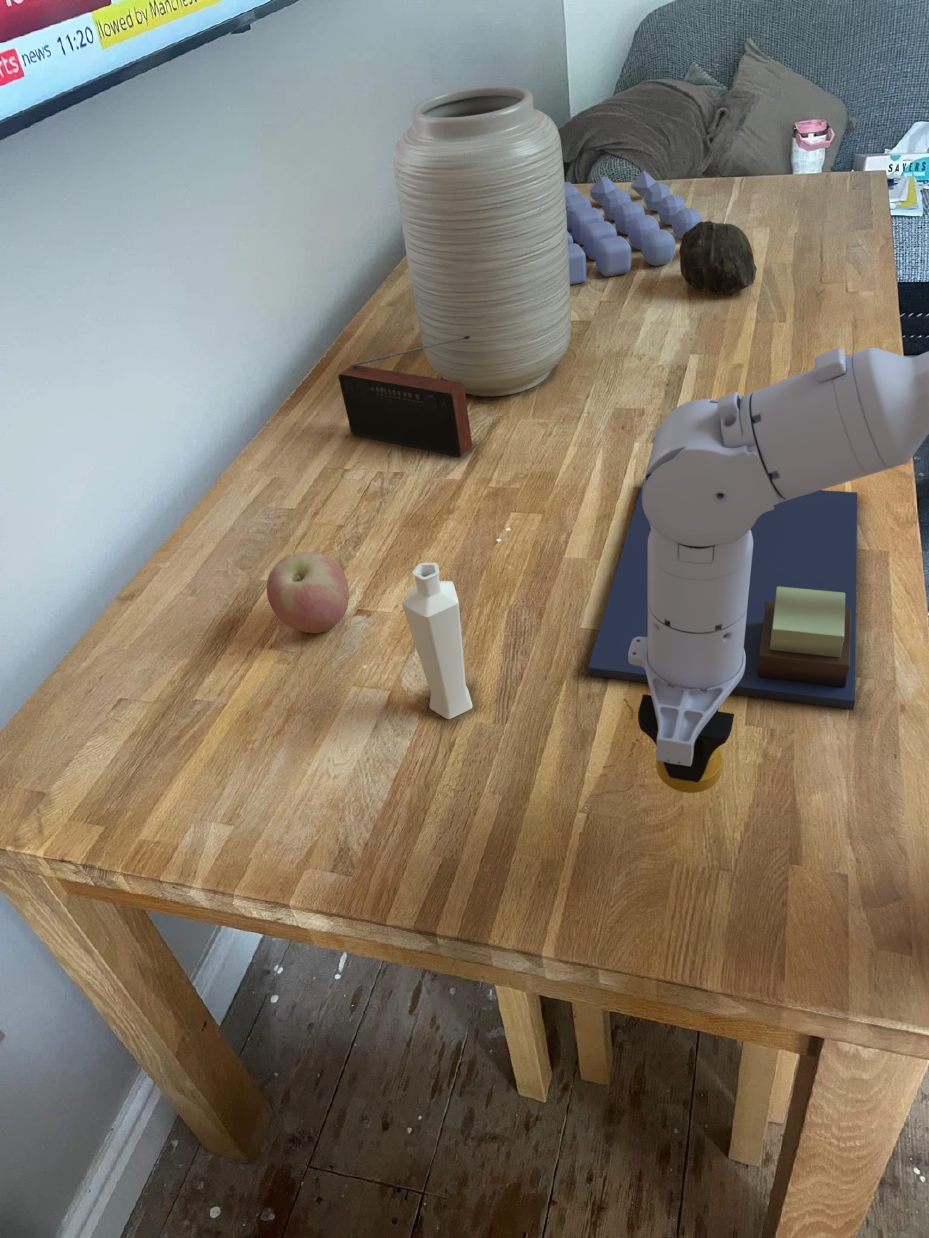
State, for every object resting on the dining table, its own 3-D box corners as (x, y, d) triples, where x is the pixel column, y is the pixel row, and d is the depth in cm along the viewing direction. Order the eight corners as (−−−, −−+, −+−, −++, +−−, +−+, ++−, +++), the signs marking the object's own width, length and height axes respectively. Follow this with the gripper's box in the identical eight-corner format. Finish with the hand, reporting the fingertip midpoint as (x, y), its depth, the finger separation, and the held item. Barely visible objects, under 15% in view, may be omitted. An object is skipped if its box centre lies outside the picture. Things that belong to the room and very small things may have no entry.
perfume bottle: (464, 727, 81) (440, 594, 71) (420, 715, 82) (390, 583, 73) (486, 690, 84) (466, 558, 74) (442, 679, 85) (417, 548, 76)
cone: (734, 775, 64) (740, 720, 60) (681, 802, 63) (683, 748, 59) (695, 734, 67) (698, 679, 63) (643, 759, 66) (643, 705, 62)
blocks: (471, 226, 173) (467, 198, 170) (652, 192, 175) (652, 163, 172) (511, 298, 147) (508, 267, 143) (723, 257, 148) (725, 225, 145)
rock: (750, 299, 134) (747, 225, 129) (672, 305, 139) (666, 235, 134) (764, 278, 141) (761, 207, 136) (689, 284, 146) (684, 217, 141)
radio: (349, 436, 121) (324, 325, 111) (363, 424, 122) (339, 314, 113) (474, 462, 112) (458, 345, 102) (486, 449, 114) (472, 333, 104)
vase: (568, 406, 119) (552, 118, 97) (414, 411, 123) (365, 135, 101) (578, 335, 134) (567, 70, 112) (440, 341, 138) (403, 87, 116)
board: (853, 709, 77) (855, 701, 76) (588, 675, 84) (587, 667, 83) (856, 500, 98) (857, 492, 97) (643, 486, 104) (643, 478, 104)
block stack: (845, 688, 77) (854, 643, 74) (757, 677, 80) (761, 633, 76) (846, 631, 82) (855, 587, 79) (763, 622, 84) (768, 579, 81)
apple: (263, 635, 93) (241, 572, 88) (314, 590, 97) (295, 528, 92) (323, 661, 89) (303, 597, 84) (372, 613, 94) (356, 549, 88)
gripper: (652, 522, 61) (651, 669, 70) (602, 677, 51) (608, 825, 60) (764, 532, 59) (748, 683, 68) (734, 697, 49) (720, 848, 58)
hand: (689, 751), depth 64 cm, fingers closed on cone, 3 cm apart
